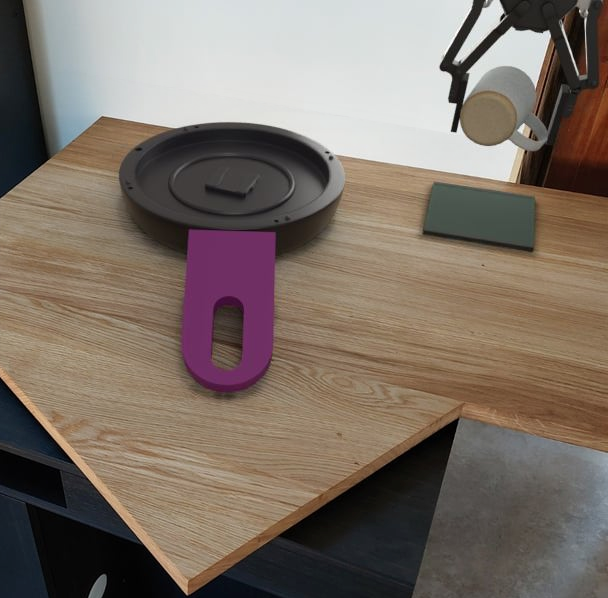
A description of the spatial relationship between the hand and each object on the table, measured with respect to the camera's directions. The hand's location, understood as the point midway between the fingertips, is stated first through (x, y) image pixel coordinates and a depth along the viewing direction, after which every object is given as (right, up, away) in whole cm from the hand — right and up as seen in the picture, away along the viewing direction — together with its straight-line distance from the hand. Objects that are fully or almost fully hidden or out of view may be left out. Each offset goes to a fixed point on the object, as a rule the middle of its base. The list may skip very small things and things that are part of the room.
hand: (501, 134), depth 98 cm
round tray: (-34, -7, +9) cm, 36 cm away
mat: (0, -9, +8) cm, 12 cm away
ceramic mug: (0, -1, 0) cm, 1 cm away
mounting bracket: (-34, -27, -12) cm, 45 cm away
